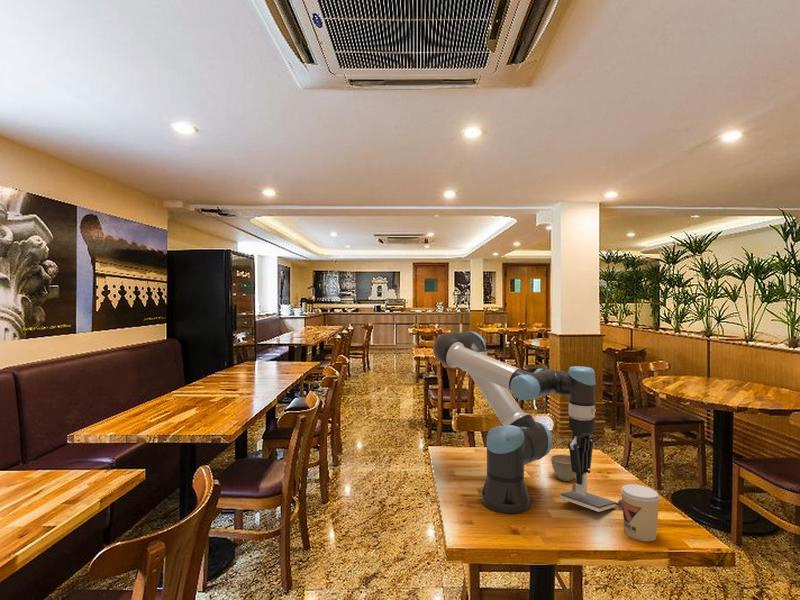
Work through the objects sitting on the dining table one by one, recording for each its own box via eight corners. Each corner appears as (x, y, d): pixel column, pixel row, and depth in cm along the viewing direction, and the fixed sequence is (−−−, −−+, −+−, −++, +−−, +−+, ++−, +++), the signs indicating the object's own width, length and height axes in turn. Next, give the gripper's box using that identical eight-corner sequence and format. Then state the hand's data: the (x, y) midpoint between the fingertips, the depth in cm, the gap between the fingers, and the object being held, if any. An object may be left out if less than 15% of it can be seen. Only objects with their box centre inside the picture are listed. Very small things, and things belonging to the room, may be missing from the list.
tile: (615, 501, 136) (615, 506, 136) (578, 489, 145) (578, 494, 145) (598, 506, 128) (598, 511, 128) (560, 493, 137) (560, 498, 137)
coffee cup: (614, 526, 125) (614, 484, 125) (645, 524, 125) (645, 483, 126) (634, 543, 116) (633, 498, 116) (667, 542, 116) (667, 497, 116)
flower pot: (584, 484, 154) (584, 463, 154) (556, 484, 154) (556, 463, 154) (573, 473, 164) (573, 454, 164) (547, 473, 164) (547, 454, 164)
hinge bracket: (623, 510, 134) (623, 502, 134) (572, 492, 147) (572, 485, 147) (626, 508, 136) (626, 500, 136) (575, 491, 148) (575, 484, 148)
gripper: (583, 423, 127) (583, 504, 127) (603, 416, 136) (602, 491, 136) (559, 418, 133) (559, 495, 133) (579, 411, 141) (579, 484, 141)
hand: (581, 493), depth 134 cm, fingers closed
